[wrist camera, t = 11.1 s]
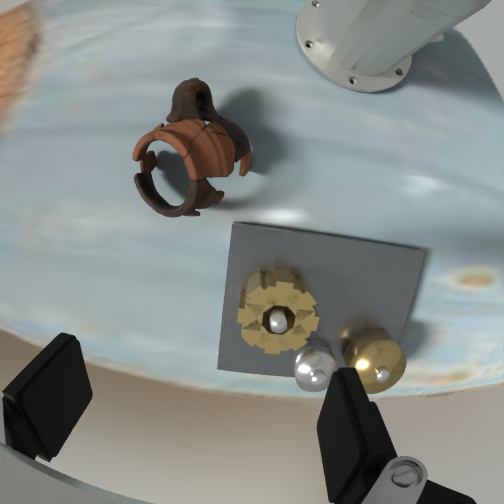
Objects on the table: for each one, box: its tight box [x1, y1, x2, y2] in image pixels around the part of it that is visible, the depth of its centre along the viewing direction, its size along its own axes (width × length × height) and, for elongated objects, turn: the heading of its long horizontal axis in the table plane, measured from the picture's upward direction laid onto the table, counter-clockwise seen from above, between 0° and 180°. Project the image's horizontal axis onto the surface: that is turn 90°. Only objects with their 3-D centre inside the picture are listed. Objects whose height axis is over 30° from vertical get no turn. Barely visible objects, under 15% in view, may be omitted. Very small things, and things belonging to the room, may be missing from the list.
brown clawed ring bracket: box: [133, 78, 252, 217], centre depth 25 cm, size 12×10×8 cm
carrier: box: [217, 222, 425, 394], centre depth 28 cm, size 20×16×6 cm
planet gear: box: [237, 267, 320, 355], centre depth 28 cm, size 7×7×4 cm
